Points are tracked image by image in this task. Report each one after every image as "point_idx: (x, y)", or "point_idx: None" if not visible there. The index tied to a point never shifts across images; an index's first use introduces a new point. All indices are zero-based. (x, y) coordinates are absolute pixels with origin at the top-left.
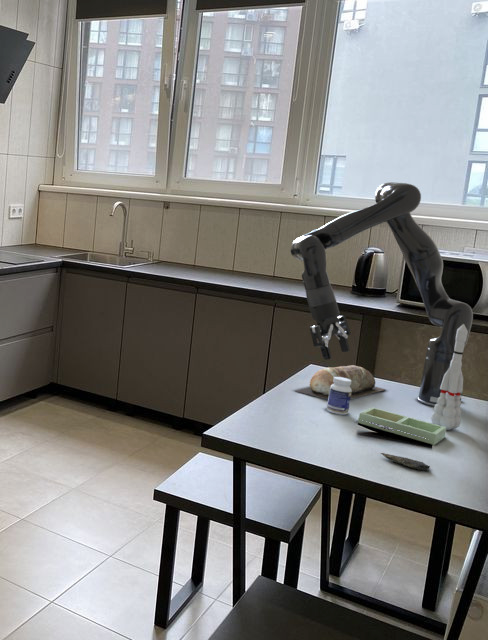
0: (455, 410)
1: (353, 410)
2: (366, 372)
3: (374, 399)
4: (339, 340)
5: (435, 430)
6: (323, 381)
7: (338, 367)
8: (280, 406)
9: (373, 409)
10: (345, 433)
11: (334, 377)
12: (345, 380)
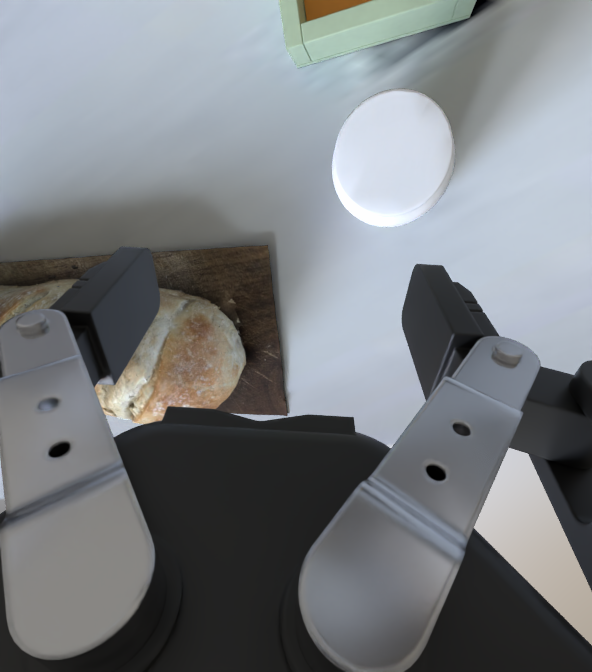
0: None
1: (286, 163)
2: None
3: (58, 221)
4: (115, 374)
5: None
6: (217, 355)
7: None
8: (584, 339)
9: (313, 20)
10: None
11: (417, 202)
12: (418, 114)
